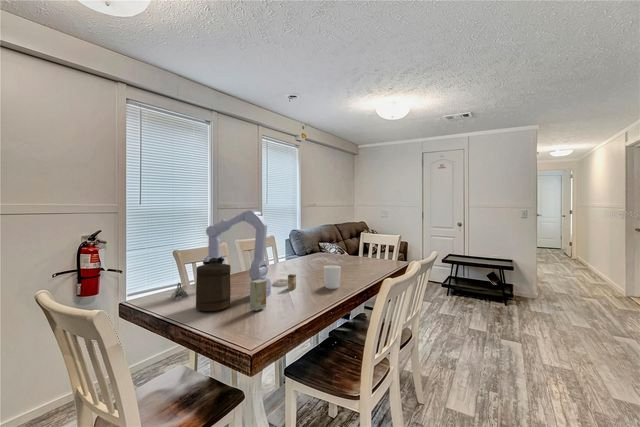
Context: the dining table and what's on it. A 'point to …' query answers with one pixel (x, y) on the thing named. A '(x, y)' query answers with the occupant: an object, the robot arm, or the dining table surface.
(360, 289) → the dining table surface
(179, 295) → the house of cards
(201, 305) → the wooden container
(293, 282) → the brown rectangular block
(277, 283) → the jar dish
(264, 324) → the dining table surface
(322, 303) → the dining table surface
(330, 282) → the candle holder
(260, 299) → the skincare box
